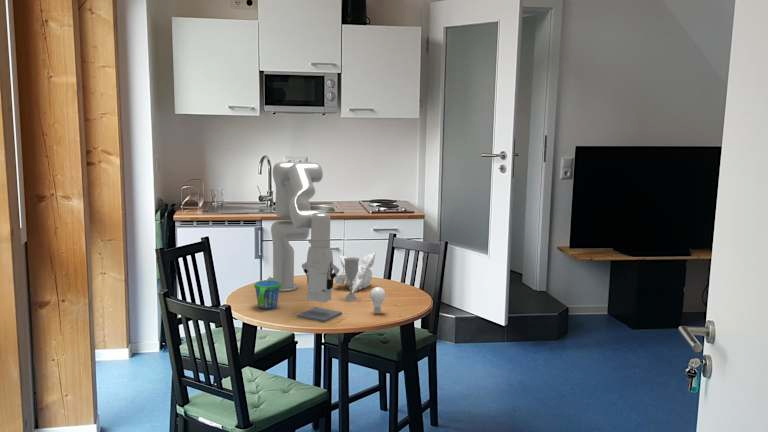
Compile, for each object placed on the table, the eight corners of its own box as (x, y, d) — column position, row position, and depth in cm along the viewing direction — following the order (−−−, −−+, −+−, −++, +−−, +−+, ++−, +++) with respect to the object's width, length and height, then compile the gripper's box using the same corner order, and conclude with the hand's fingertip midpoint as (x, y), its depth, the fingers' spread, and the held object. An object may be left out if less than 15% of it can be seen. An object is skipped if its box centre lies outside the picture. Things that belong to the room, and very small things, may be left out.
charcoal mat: (296, 317, 261) (296, 314, 261) (315, 309, 272) (315, 307, 272) (324, 322, 255) (324, 319, 255) (342, 314, 267) (342, 311, 266)
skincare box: (306, 300, 262) (307, 263, 260) (314, 297, 267) (314, 260, 265) (325, 303, 259) (326, 265, 257) (332, 299, 264) (333, 262, 262)
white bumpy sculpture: (377, 263, 323) (375, 248, 305) (377, 302, 315) (374, 289, 297) (339, 263, 324) (334, 248, 306) (338, 303, 316) (333, 290, 298)
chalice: (356, 302, 285) (357, 261, 283) (341, 301, 286) (341, 260, 284) (360, 298, 292) (361, 257, 290) (345, 296, 294) (346, 256, 291)
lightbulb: (373, 316, 265) (373, 289, 263) (367, 312, 270) (367, 285, 269) (387, 314, 267) (388, 288, 266) (381, 310, 273) (382, 284, 271)
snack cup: (271, 313, 265) (271, 288, 264) (247, 311, 268) (247, 286, 267) (286, 303, 280) (286, 280, 279) (263, 301, 283) (263, 278, 282)
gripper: (296, 243, 261) (296, 286, 263) (334, 247, 253) (333, 292, 255) (307, 240, 267) (307, 282, 269) (344, 244, 259) (343, 288, 262)
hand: (320, 287), depth 262 cm, fingers closed on skincare box, 8 cm apart
